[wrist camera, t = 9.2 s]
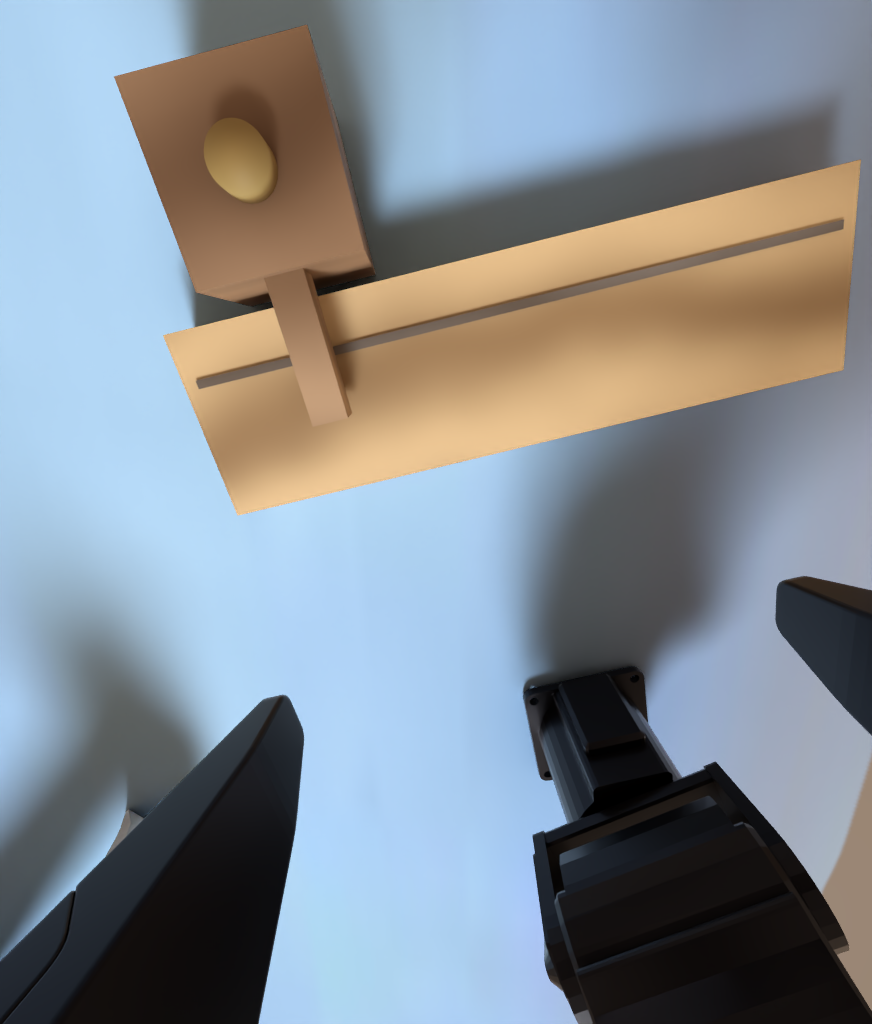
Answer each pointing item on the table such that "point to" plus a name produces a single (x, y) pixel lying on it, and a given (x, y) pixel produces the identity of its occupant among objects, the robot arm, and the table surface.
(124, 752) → the table surface
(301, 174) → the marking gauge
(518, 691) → the table surface
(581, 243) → the board
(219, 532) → the table surface
